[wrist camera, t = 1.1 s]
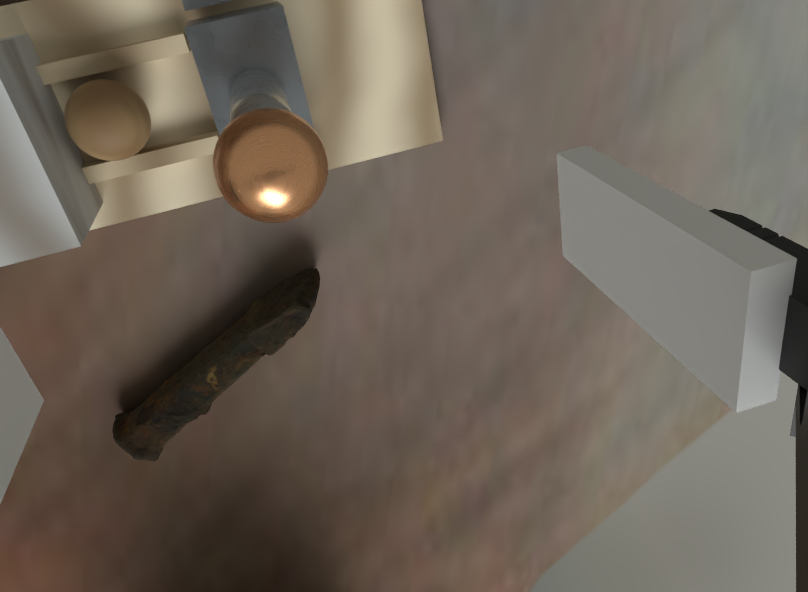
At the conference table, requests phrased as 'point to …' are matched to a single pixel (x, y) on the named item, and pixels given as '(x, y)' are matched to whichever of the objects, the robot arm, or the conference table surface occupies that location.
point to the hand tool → (217, 367)
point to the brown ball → (107, 120)
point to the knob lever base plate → (184, 104)
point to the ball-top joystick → (258, 112)
